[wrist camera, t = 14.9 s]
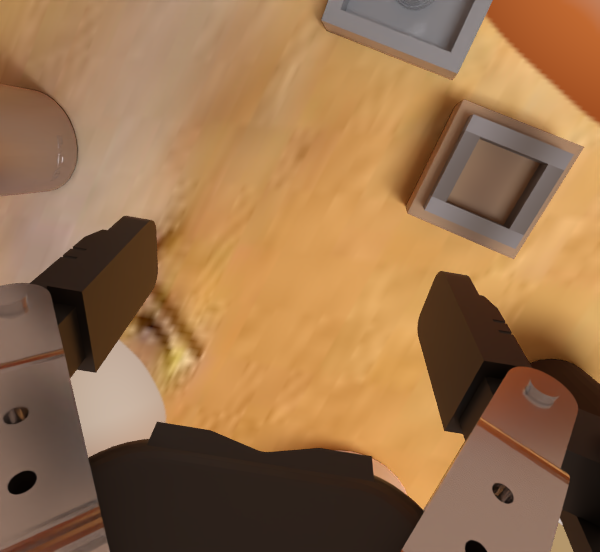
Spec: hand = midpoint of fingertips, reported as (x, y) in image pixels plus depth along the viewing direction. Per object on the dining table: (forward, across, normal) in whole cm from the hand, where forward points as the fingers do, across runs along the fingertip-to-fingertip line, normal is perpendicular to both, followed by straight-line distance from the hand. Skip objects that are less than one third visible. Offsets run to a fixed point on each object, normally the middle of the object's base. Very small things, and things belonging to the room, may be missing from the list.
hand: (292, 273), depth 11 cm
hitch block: (+21, -13, +2) cm, 25 cm away
